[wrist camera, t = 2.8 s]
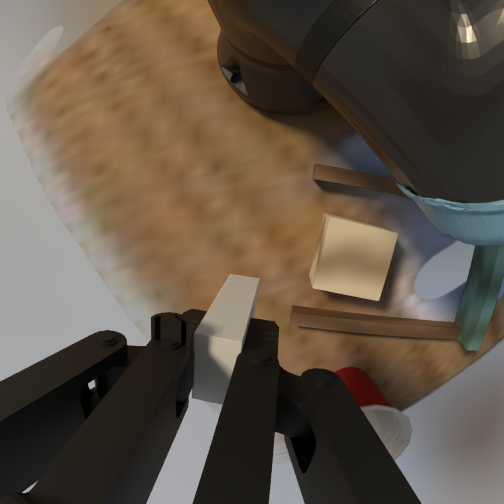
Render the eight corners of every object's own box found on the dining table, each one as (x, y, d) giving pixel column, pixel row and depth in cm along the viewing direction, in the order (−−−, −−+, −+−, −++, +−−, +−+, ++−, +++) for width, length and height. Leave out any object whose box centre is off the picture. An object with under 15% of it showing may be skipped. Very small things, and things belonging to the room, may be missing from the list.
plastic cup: (381, 337, 34) (414, 396, 22) (388, 399, 35) (411, 460, 24) (296, 361, 35) (298, 428, 24) (313, 419, 37) (318, 485, 26)
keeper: (323, 212, 32) (330, 216, 27) (383, 227, 31) (398, 233, 27) (309, 274, 33) (312, 288, 29) (367, 286, 33) (378, 301, 28)
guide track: (314, 165, 30) (319, 161, 26) (492, 207, 29) (516, 211, 24) (290, 317, 34) (290, 337, 29) (461, 333, 32) (478, 350, 28)
